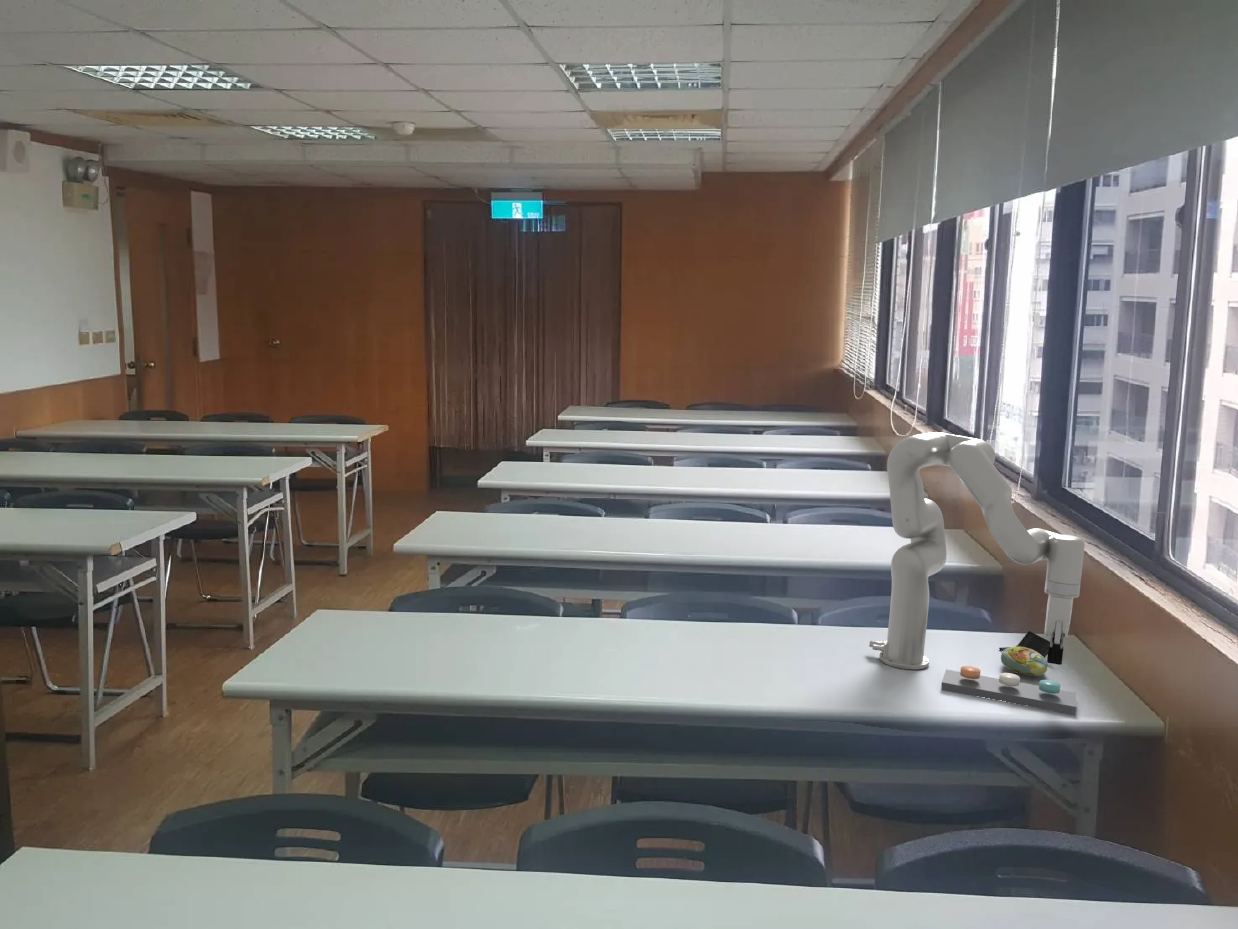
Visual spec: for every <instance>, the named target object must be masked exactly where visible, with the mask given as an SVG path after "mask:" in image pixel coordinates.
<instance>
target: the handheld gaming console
mask: <svg viewBox="0 0 1238 929" xmlns="http://www.w3.org/2000/svg"><path fill="white" fill-rule="evenodd" d="M1049 645H1050V640H1048V639H1046V638H1044V637H1042V636H1040V635H1038V634H1036V633H1034V632H1032V631H1030V630H1029V631H1027V633H1026V634H1025V635H1023V638H1022V639H1021V640H1020V641H1019V643H1018V644H1017V645H1015V647H1025V648H1029V649H1032V650H1034V651H1036V652H1038V653H1039V654H1041V655H1042V656H1043V657H1044V659H1045V658H1046V657H1047V656H1048V647H1049ZM1010 647H1011V646H1010ZM1010 647H1008V646H1007V647H1006V646H1005V647H998V650H999V649H1000V650H1002V651H1004V650H1005V649H1007V648H1010ZM1000 650H999V651H1000Z"/></svg>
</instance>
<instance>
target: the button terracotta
mask: <svg viewBox="0 0 1238 929" xmlns="http://www.w3.org/2000/svg"><path fill="white" fill-rule="evenodd" d="M959 672H960V675H961V676H962V677H965V678H968V679H979V678H980V676H981V669H980V668H978V667H975V666H970V665H963V666H961V667H960V671H959Z"/></svg>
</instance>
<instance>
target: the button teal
mask: <svg viewBox="0 0 1238 929" xmlns="http://www.w3.org/2000/svg"><path fill="white" fill-rule="evenodd" d="M1038 686H1039V689H1040V690H1041V691H1043V692H1046V693H1052V694H1056V693H1059V692H1060V690H1061V683H1059V682H1057V681H1055V680H1050V679H1041V680H1039V684H1038Z"/></svg>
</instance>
